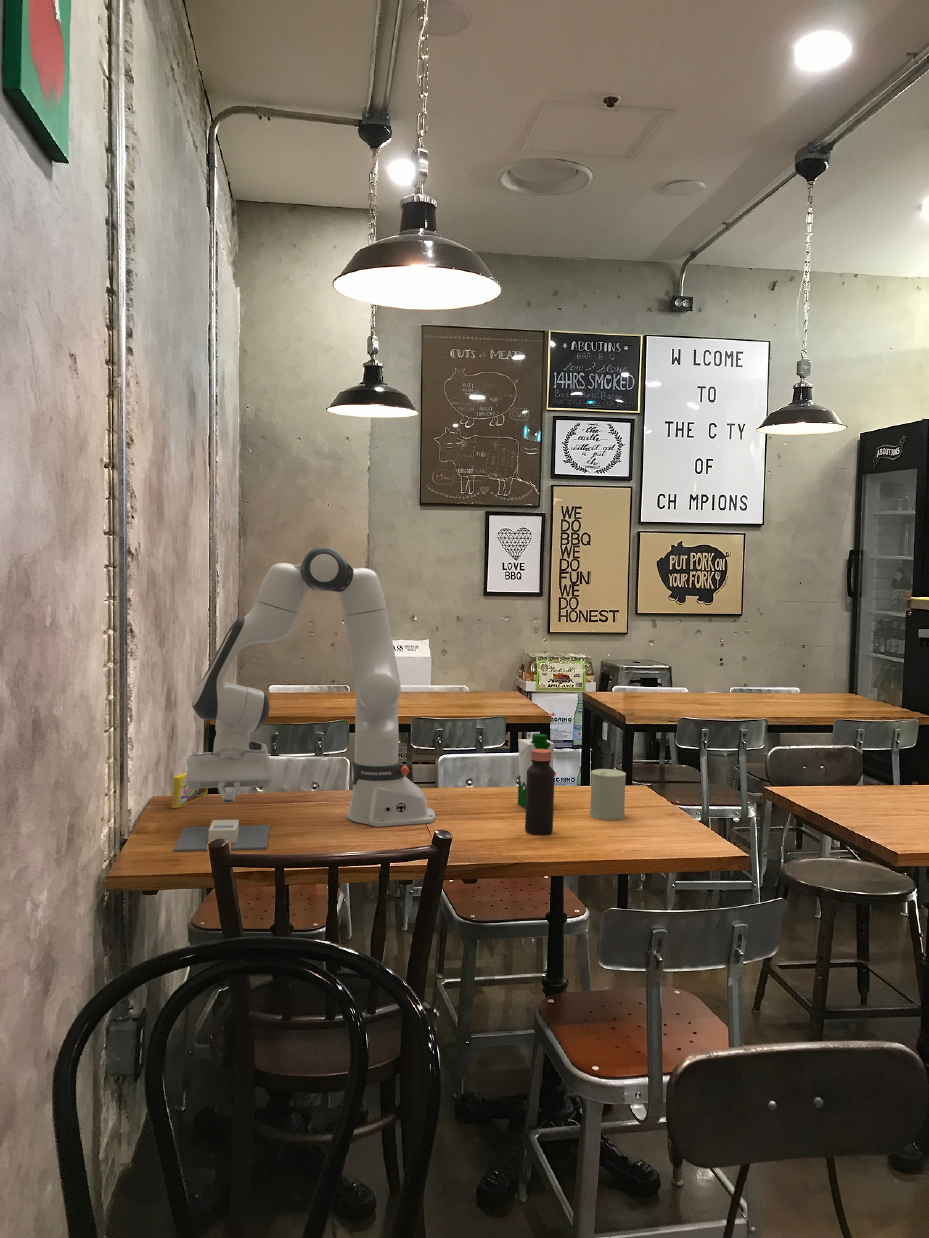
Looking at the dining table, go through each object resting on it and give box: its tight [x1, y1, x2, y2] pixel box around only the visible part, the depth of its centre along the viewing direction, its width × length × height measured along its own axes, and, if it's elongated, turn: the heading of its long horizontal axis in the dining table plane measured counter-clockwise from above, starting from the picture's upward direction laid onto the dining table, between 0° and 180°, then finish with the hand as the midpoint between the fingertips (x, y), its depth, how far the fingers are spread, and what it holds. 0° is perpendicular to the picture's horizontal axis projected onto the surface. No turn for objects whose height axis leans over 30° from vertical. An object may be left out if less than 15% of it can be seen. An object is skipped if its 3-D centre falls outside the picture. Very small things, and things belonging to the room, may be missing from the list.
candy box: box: [171, 771, 208, 809], centre depth 240 cm, size 16×2×8 cm, turn 168°
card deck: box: [208, 819, 240, 843], centre depth 206 cm, size 6×3×9 cm
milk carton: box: [517, 733, 555, 810], centre depth 244 cm, size 9×9×20 cm
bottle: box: [524, 749, 556, 836], centre depth 219 cm, size 7×7×20 cm
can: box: [589, 768, 627, 821], centre depth 236 cm, size 9×9×12 cm
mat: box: [172, 824, 271, 853], centre depth 207 cm, size 20×18×1 cm
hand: (228, 801), depth 213 cm, fingers closed
